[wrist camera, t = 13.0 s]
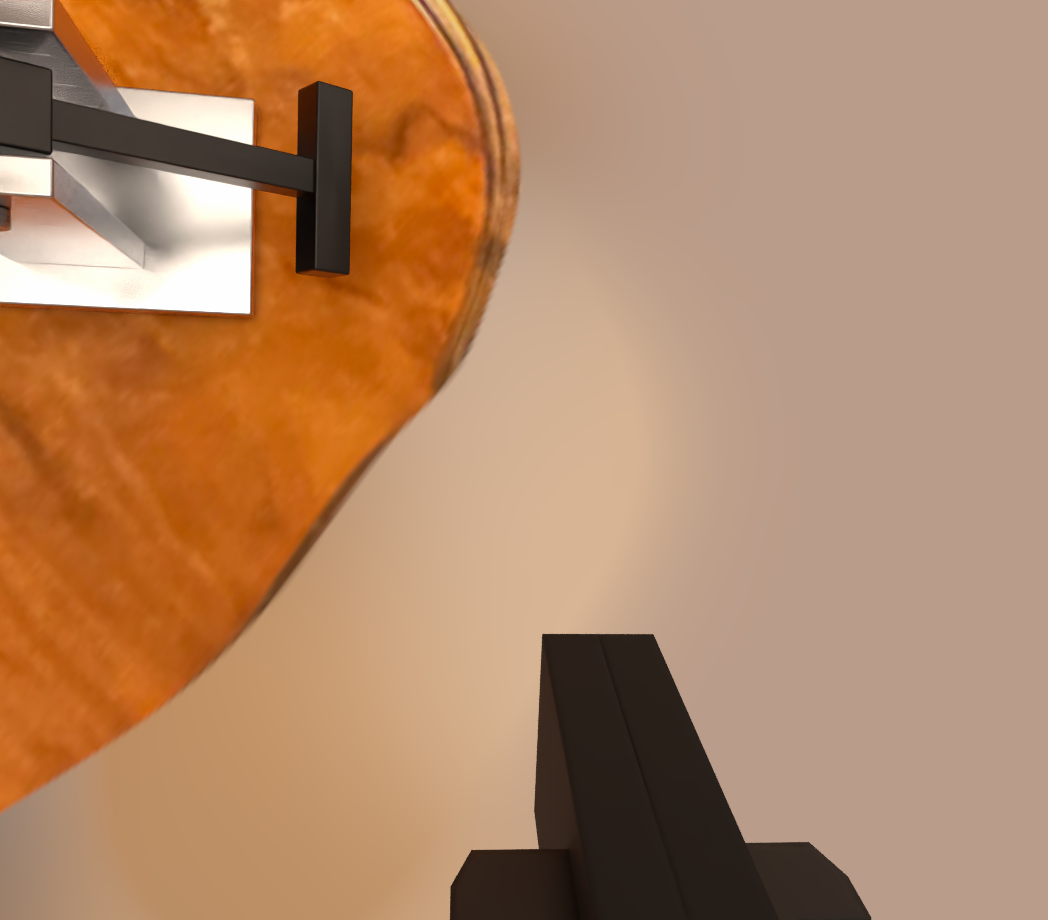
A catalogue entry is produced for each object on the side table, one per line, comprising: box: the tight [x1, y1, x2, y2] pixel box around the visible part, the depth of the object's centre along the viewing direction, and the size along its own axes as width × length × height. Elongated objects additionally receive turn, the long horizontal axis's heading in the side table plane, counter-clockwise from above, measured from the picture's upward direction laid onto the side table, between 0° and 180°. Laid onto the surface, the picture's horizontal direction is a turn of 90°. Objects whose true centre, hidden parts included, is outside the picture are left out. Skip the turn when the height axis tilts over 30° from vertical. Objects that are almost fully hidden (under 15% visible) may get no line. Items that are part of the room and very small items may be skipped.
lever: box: [0, 56, 353, 278], centre depth 27 cm, size 12×6×2 cm
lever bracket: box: [0, 0, 257, 318], centre depth 29 cm, size 12×8×13 cm, turn 88°
